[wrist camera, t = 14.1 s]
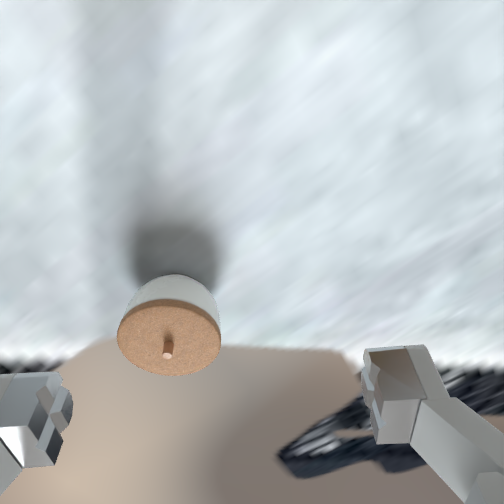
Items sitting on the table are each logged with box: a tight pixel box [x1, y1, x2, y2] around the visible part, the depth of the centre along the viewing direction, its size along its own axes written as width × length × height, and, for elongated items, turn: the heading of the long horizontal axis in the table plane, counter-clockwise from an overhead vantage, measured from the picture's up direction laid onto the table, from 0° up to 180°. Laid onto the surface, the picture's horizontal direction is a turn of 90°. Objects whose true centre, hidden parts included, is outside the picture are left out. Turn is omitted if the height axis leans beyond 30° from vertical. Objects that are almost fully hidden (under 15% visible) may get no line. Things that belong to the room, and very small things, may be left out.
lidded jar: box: [117, 274, 221, 376], centre depth 47 cm, size 11×11×9 cm
